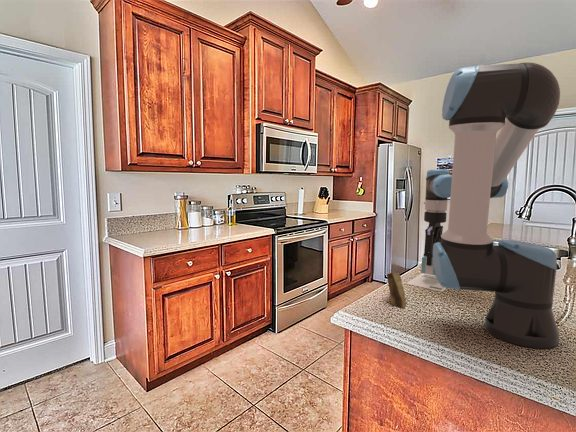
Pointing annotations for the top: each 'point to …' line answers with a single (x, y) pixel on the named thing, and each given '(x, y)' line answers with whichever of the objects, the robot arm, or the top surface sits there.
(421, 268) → the teal cube
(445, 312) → the top surface
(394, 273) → the rock
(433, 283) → the letter
